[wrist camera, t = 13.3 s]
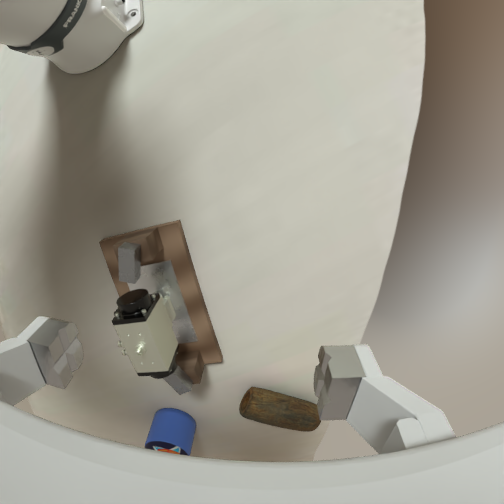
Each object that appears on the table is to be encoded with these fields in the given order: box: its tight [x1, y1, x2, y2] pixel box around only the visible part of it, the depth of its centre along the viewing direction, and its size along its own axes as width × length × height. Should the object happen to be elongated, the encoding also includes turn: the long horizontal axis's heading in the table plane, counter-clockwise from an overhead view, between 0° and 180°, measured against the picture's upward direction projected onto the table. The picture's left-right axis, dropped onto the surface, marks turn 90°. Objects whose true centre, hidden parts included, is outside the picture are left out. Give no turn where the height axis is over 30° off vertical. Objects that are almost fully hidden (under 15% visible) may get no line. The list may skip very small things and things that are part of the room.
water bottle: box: [145, 408, 196, 456], centre depth 46 cm, size 9×9×25 cm
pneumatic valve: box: [112, 289, 179, 379], centre depth 40 cm, size 6×12×12 cm, turn 12°
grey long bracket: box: [118, 242, 198, 395], centre depth 43 cm, size 24×8×7 cm, turn 12°
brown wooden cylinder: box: [239, 387, 321, 431], centre depth 51 cm, size 15×7×7 cm, turn 69°
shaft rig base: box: [100, 220, 223, 384], centre depth 44 cm, size 24×13×6 cm, turn 12°
